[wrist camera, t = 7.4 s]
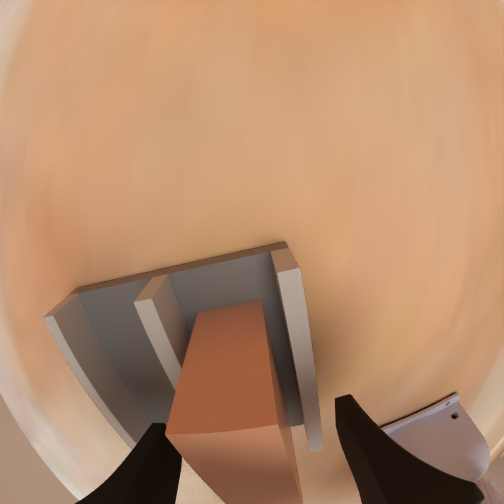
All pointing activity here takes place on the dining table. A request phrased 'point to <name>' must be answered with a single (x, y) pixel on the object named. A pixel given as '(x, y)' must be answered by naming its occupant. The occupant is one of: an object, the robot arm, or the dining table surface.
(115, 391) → the dish rack
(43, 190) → the dining table surface
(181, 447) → the terracotta tile
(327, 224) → the dining table surface
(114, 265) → the dining table surface
